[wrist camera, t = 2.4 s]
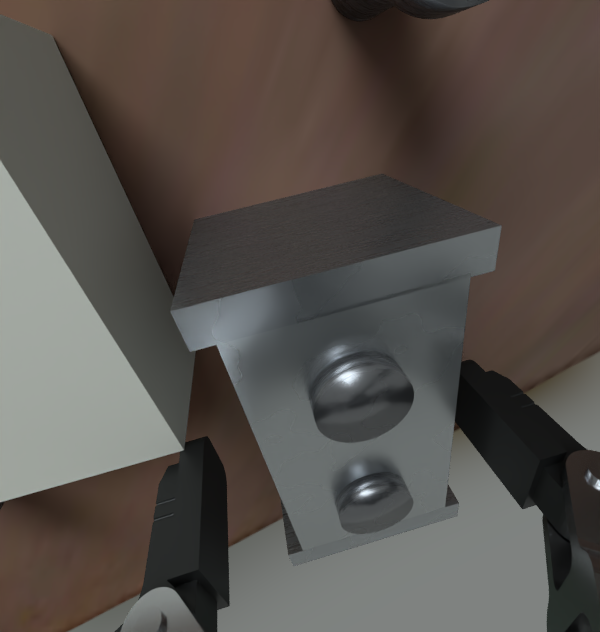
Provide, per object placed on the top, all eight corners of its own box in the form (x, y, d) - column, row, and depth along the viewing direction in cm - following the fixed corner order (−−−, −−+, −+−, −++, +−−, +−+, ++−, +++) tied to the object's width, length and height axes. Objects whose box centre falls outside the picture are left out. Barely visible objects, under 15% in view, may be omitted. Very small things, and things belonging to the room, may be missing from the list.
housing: (382, 173, 12) (524, 235, 6) (393, 402, 18) (466, 532, 13) (194, 219, 11) (165, 329, 6) (274, 436, 18) (296, 585, 12)
